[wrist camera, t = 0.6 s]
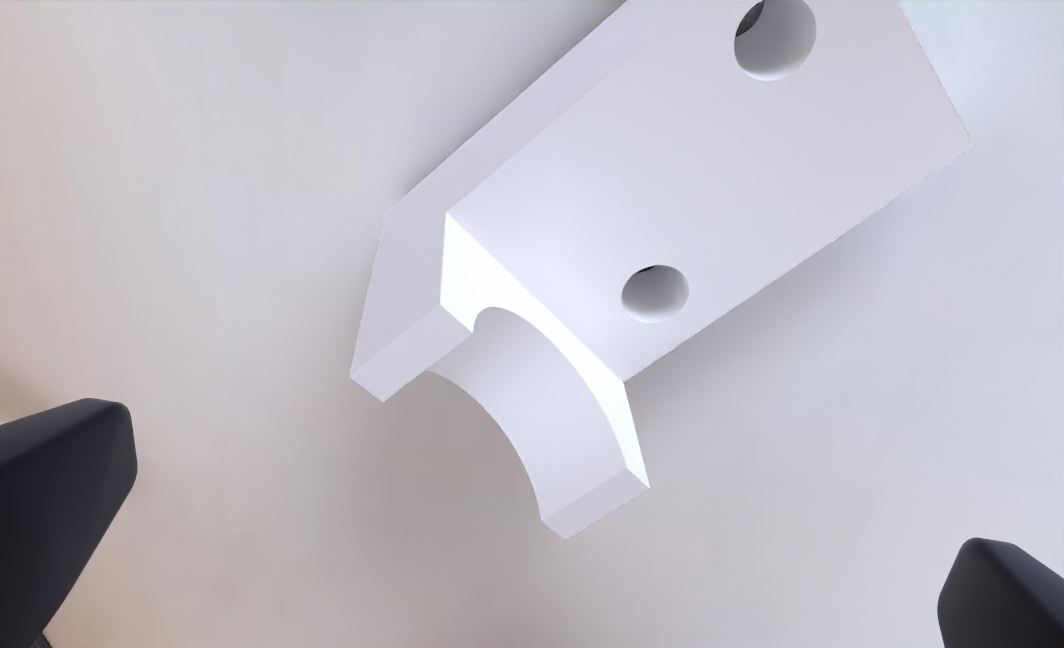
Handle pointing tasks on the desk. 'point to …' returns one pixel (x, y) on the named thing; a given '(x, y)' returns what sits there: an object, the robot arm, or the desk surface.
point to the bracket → (642, 215)
